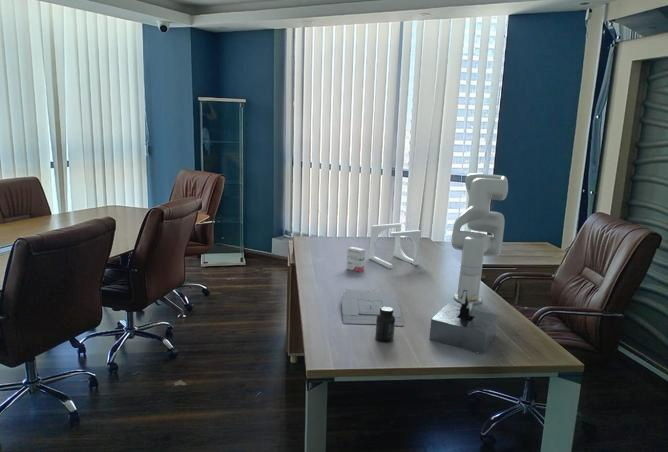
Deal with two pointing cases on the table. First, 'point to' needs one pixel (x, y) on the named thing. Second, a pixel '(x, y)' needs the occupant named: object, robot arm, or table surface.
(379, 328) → the supplement bottle
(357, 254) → the ink box
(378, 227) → the white frame stand
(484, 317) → the grey square platform
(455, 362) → the table surface
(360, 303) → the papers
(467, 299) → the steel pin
